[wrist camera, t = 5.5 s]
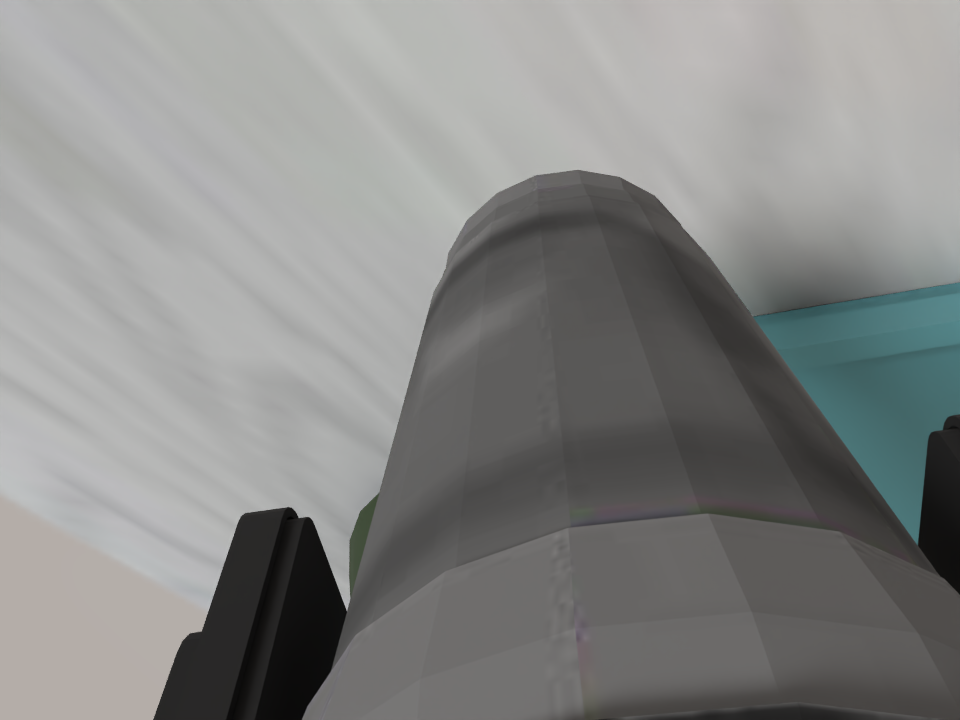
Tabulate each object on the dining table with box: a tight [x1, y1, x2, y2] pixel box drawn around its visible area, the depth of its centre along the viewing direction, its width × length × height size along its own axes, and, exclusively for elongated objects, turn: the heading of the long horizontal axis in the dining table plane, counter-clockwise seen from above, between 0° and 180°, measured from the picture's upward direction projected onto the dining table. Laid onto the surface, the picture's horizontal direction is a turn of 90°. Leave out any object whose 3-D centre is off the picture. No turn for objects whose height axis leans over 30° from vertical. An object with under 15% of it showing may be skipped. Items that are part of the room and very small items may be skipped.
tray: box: [753, 283, 960, 545], centre depth 31 cm, size 14×14×2 cm
